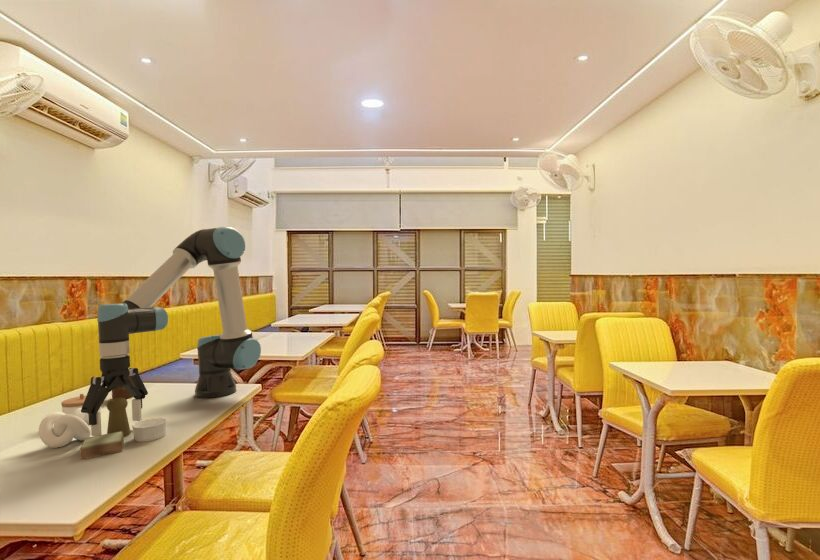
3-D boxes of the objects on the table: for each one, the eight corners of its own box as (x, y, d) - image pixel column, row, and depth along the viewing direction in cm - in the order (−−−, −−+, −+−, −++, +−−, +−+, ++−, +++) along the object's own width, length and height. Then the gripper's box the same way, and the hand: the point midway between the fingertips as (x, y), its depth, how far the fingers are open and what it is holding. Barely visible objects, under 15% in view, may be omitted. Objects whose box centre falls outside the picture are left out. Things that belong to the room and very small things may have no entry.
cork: (104, 436, 135) (102, 399, 135) (127, 430, 139) (125, 394, 139) (109, 440, 131) (107, 402, 131) (133, 434, 135) (131, 397, 135)
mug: (133, 400, 175) (132, 376, 175) (110, 404, 172) (108, 379, 171) (135, 394, 186) (134, 371, 186) (113, 397, 182) (111, 373, 182)
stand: (123, 441, 130) (123, 430, 130) (122, 451, 122) (121, 440, 122) (85, 448, 125) (84, 437, 125) (80, 459, 117) (80, 447, 117)
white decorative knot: (105, 436, 135) (103, 406, 135) (67, 451, 123) (65, 418, 123) (73, 434, 137) (72, 405, 137) (33, 450, 126) (31, 417, 126)
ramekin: (135, 435, 135) (134, 420, 135) (169, 430, 138) (168, 416, 138) (130, 445, 127) (129, 429, 127) (166, 439, 130) (165, 424, 130)
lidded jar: (81, 428, 143) (80, 398, 143) (53, 427, 145) (52, 398, 145) (110, 417, 154) (109, 390, 153) (84, 417, 156) (82, 389, 156)
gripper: (139, 349, 148) (142, 414, 148) (63, 364, 124) (66, 442, 124) (158, 349, 146) (161, 415, 146) (84, 364, 122) (87, 443, 122)
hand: (117, 427), depth 135 cm, fingers open, 13 cm apart
